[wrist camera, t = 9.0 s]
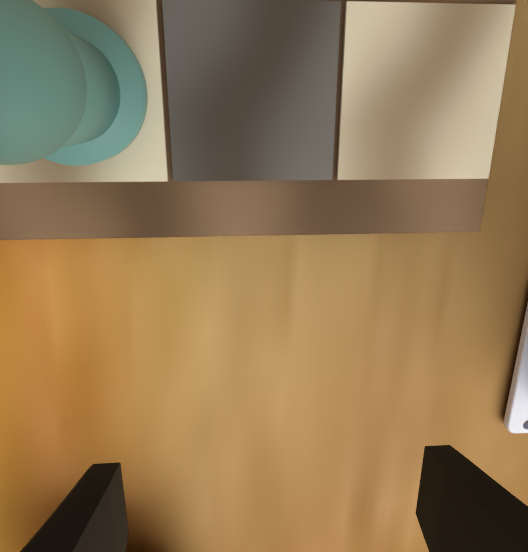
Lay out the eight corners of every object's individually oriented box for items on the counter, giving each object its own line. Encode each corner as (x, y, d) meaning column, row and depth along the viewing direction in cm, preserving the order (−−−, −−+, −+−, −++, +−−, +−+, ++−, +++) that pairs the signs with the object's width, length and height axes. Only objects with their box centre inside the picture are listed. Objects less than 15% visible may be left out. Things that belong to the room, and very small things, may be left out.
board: (512, -58, 16) (530, -70, 15) (469, 227, 19) (482, 232, 18) (-241, -82, 14) (-275, -96, 13) (-148, 237, 17) (-169, 244, 16)
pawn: (141, 15, 15) (65, -77, 8) (152, 162, 16) (97, 198, 9) (-8, 12, 15) (-232, -86, 7) (17, 163, 16) (-148, 201, 9)
